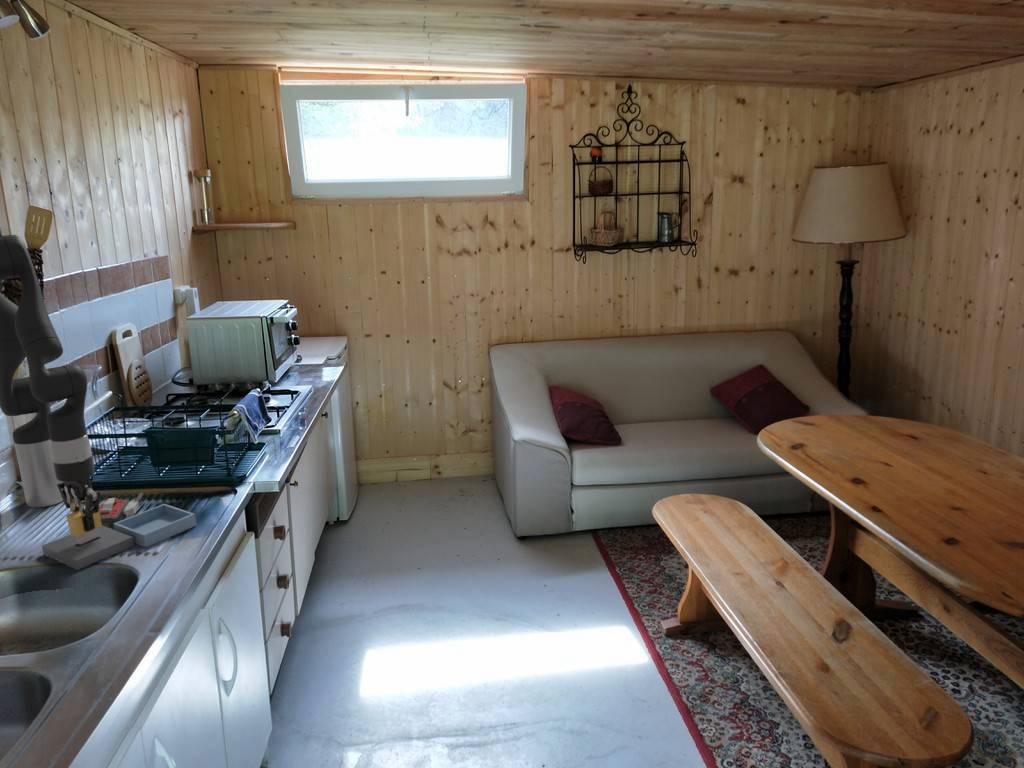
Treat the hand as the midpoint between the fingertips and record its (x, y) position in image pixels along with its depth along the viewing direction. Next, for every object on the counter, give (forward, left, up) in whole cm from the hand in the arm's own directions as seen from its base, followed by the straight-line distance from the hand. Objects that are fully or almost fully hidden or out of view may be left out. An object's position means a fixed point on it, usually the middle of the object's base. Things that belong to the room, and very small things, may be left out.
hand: (85, 528), depth 175 cm
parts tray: (+4, +14, -5) cm, 15 cm away
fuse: (0, 0, -3) cm, 3 cm away
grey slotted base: (0, 0, -5) cm, 5 cm away
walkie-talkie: (-13, +15, -6) cm, 21 cm away
